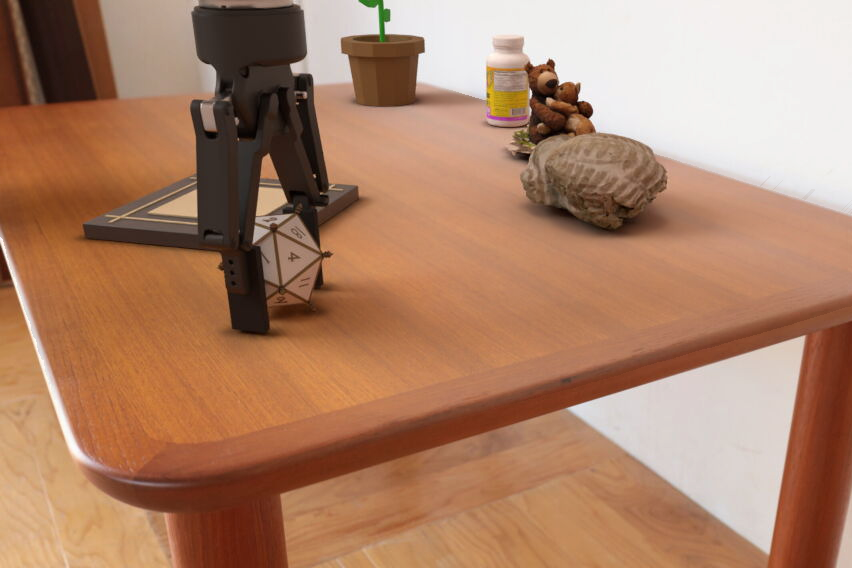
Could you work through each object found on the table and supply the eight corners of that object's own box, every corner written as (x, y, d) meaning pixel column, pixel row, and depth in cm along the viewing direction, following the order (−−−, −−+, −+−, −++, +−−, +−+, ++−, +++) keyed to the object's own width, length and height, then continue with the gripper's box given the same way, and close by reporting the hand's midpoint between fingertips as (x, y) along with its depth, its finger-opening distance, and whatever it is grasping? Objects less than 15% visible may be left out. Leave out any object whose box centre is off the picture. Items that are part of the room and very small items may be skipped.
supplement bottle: (493, 118, 142) (493, 33, 136) (534, 121, 140) (535, 34, 135) (480, 126, 136) (480, 37, 131) (522, 129, 134) (524, 39, 129)
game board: (84, 238, 86) (81, 221, 85) (197, 185, 104) (195, 171, 103) (275, 256, 82) (273, 239, 81) (359, 198, 100) (358, 183, 99)
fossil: (499, 178, 101) (533, 94, 98) (599, 214, 106) (633, 135, 103) (548, 225, 85) (590, 126, 82) (662, 264, 91) (705, 172, 88)
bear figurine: (532, 173, 110) (534, 71, 105) (495, 147, 123) (495, 55, 118) (632, 166, 114) (639, 67, 109) (586, 141, 127) (590, 52, 122)
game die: (297, 358, 71) (298, 292, 63) (199, 315, 71) (187, 243, 63) (346, 275, 76) (353, 203, 67) (254, 234, 76) (250, 157, 67)
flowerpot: (355, 92, 162) (344, -92, 149) (433, 94, 161) (428, -91, 148) (333, 107, 149) (318, -93, 136) (418, 109, 148) (411, -93, 135)
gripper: (213, 17, 51) (257, 369, 61) (358, -7, 70) (375, 264, 80) (98, 13, 53) (159, 357, 62) (271, -9, 72) (297, 257, 81)
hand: (280, 305), depth 71 cm, fingers open, 9 cm apart
